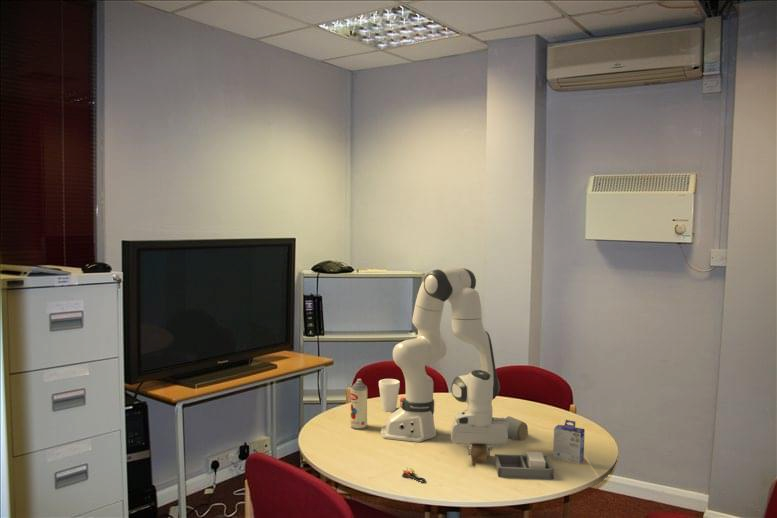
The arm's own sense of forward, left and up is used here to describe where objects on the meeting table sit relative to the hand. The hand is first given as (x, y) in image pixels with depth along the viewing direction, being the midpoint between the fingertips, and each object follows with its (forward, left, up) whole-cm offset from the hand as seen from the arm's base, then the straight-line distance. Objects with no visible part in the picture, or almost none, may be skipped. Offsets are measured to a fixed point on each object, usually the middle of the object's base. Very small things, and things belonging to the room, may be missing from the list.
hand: (478, 454), depth 216 cm
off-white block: (+18, -9, -1) cm, 21 cm away
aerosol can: (-47, +32, -3) cm, 57 cm away
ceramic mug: (+17, +27, -3) cm, 32 cm away
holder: (+14, -9, -2) cm, 17 cm away
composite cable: (-23, -17, -3) cm, 29 cm away
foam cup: (-36, +56, -3) cm, 66 cm away
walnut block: (0, 0, -2) cm, 2 cm away
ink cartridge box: (+32, +3, -3) cm, 32 cm away
